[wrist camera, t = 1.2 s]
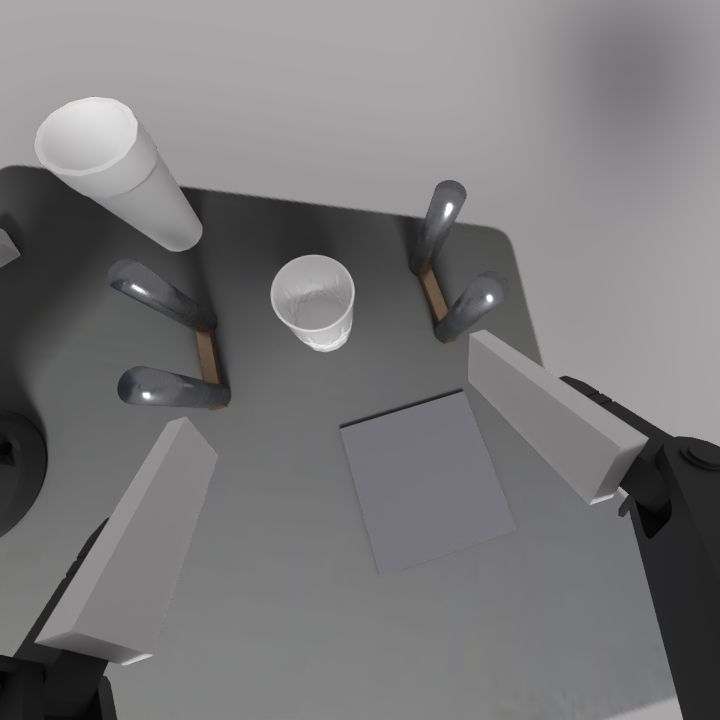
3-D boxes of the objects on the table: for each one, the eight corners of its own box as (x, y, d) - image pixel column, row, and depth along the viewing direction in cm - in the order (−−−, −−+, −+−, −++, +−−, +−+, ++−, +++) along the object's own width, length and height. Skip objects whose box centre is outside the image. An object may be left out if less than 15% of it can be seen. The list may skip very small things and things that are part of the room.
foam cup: (172, 274, 35) (67, 193, 23) (133, 232, 37) (14, 134, 24) (226, 232, 37) (157, 135, 24) (188, 193, 38) (102, 82, 25)
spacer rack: (208, 411, 31) (119, 409, 20) (192, 316, 34) (105, 263, 22) (460, 339, 34) (515, 297, 22) (426, 254, 36) (459, 177, 24)
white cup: (310, 292, 35) (291, 243, 25) (364, 311, 34) (366, 270, 24) (285, 343, 33) (255, 313, 23) (341, 365, 33) (335, 344, 23)
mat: (379, 575, 28) (379, 577, 27) (340, 428, 31) (339, 428, 31) (515, 527, 29) (517, 529, 28) (463, 391, 32) (464, 390, 32)
